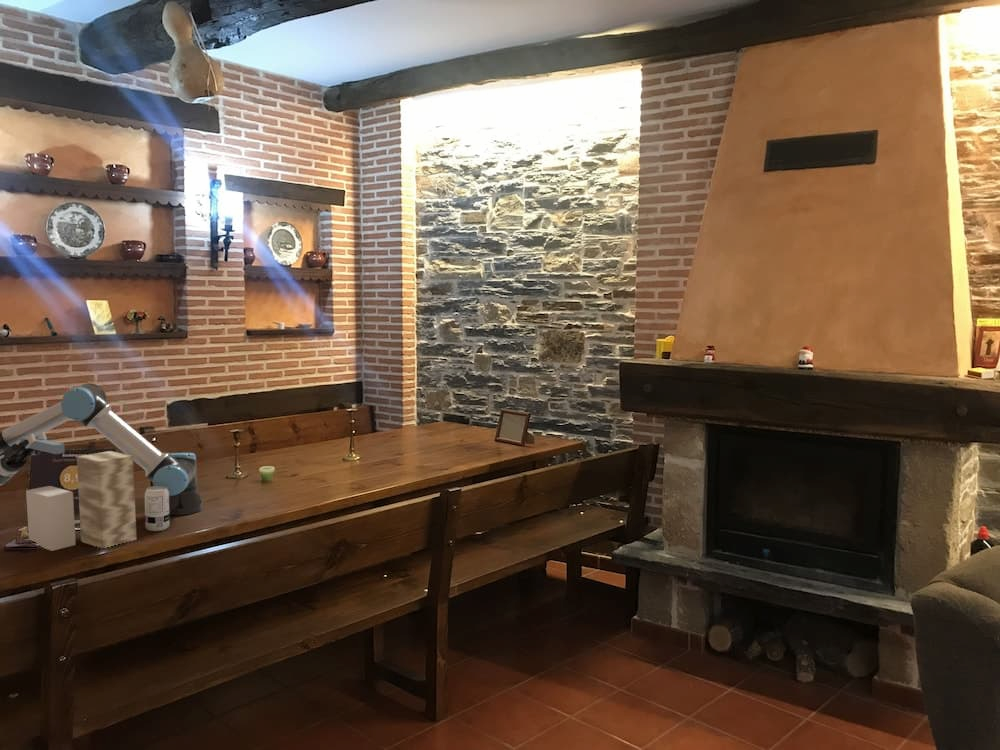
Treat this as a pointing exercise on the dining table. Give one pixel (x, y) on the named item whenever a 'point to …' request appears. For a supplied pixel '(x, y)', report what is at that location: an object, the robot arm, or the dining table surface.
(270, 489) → the dining table surface
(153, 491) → the supplement can
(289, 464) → the dining table surface
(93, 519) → the birch stand
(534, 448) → the dining table surface
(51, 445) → the slate bar
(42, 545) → the white step
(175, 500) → the robot arm
